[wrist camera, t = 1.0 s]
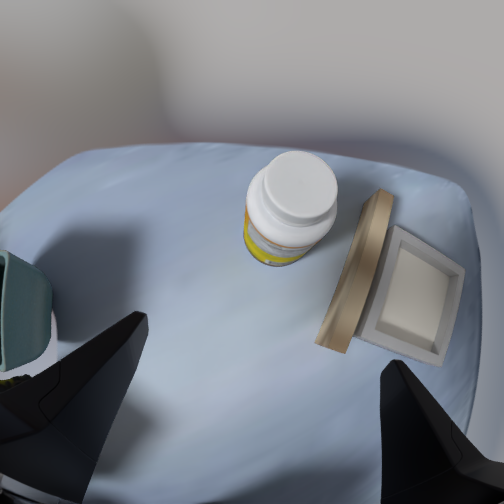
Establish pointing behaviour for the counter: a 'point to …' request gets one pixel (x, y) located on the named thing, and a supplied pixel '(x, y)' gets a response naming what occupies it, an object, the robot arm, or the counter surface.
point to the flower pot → (23, 312)
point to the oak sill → (356, 274)
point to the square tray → (411, 299)
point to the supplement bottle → (289, 208)
